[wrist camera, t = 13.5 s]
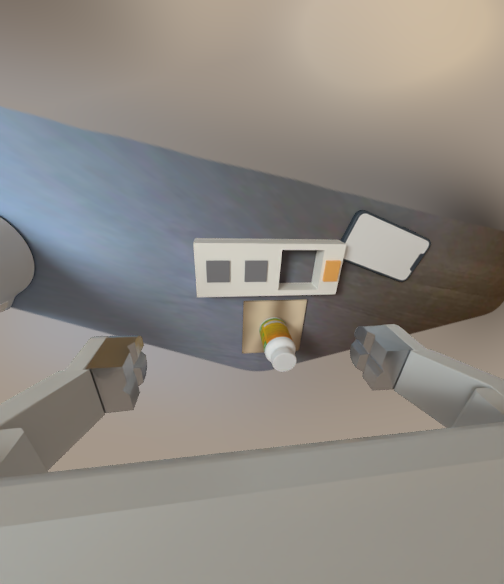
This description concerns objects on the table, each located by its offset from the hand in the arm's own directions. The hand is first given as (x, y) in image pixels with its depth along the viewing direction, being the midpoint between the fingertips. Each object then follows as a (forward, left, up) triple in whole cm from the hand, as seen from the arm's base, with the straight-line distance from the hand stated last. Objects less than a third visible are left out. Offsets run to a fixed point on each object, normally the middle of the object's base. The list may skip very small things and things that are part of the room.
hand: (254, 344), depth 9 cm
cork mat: (+9, -21, -31) cm, 38 cm away
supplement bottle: (+9, -21, -31) cm, 38 cm away
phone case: (+28, -5, -32) cm, 42 cm away
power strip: (+7, -8, -31) cm, 33 cm away
